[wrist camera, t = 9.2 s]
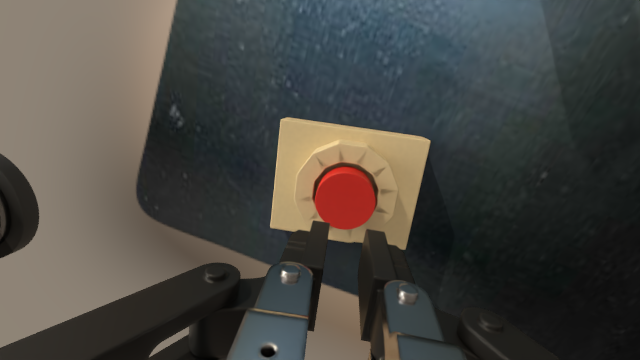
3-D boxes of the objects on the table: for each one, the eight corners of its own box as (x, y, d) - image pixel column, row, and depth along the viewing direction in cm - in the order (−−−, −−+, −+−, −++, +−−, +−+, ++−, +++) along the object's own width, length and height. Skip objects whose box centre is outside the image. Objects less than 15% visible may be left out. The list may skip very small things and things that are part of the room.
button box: (276, 217, 24) (263, 239, 20) (286, 117, 22) (274, 120, 18) (400, 237, 24) (410, 263, 20) (423, 136, 22) (439, 144, 18)
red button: (314, 214, 20) (311, 224, 18) (321, 162, 19) (319, 168, 17) (368, 223, 20) (369, 234, 18) (377, 170, 19) (380, 177, 17)
